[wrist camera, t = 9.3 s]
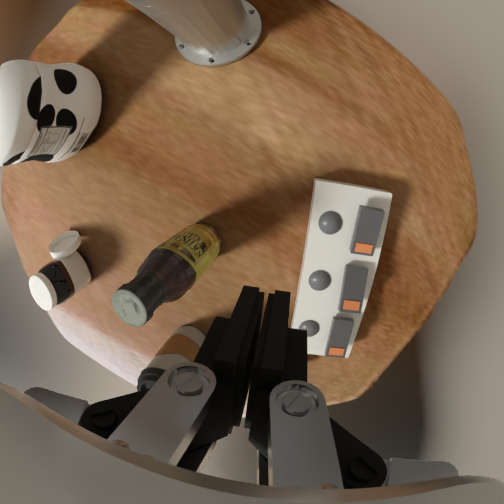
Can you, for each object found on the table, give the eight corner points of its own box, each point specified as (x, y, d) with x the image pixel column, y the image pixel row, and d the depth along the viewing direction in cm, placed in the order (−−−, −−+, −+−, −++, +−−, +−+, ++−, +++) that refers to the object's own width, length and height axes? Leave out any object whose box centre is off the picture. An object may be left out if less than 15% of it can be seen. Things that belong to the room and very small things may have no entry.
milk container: (56, 73, 34) (-15, 66, 18) (120, 63, 33) (40, 39, 16) (43, 156, 41) (-29, 171, 24) (102, 162, 39) (17, 180, 23)
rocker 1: (333, 316, 38) (334, 320, 36) (352, 318, 37) (354, 322, 36) (324, 352, 39) (325, 356, 38) (343, 353, 39) (344, 358, 37)
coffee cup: (184, 358, 51) (154, 415, 37) (162, 325, 48) (123, 379, 35) (221, 351, 48) (196, 414, 34) (199, 315, 46) (164, 375, 32)
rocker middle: (345, 265, 35) (347, 265, 34) (366, 268, 35) (368, 268, 34) (337, 309, 36) (339, 311, 34) (358, 311, 35) (361, 314, 34)
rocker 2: (359, 204, 31) (361, 208, 30) (382, 208, 31) (385, 213, 30) (349, 248, 34) (350, 253, 33) (371, 251, 34) (373, 257, 33)
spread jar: (75, 290, 50) (40, 317, 39) (51, 244, 47) (12, 264, 37) (107, 274, 47) (68, 304, 36) (80, 220, 44) (36, 240, 33)
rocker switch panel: (314, 177, 36) (315, 180, 32) (384, 189, 34) (392, 193, 31) (288, 338, 45) (287, 351, 42) (345, 344, 44) (348, 358, 40)
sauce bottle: (227, 227, 40) (168, 294, 22) (218, 266, 42) (162, 348, 24) (185, 215, 40) (103, 269, 22) (178, 253, 43) (105, 323, 24)
